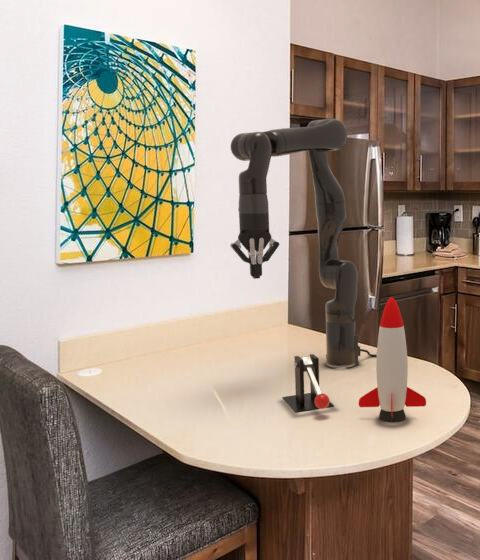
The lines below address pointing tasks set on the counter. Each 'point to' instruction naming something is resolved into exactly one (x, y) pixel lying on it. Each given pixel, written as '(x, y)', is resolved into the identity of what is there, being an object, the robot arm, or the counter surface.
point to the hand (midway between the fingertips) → (256, 278)
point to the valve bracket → (302, 400)
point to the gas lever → (315, 385)
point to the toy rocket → (392, 370)
